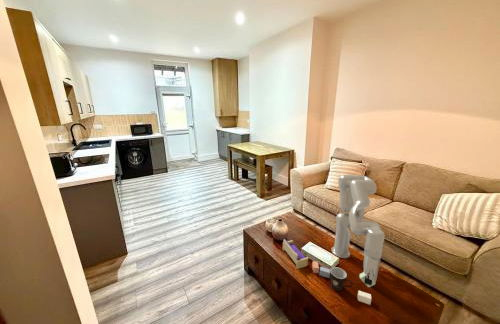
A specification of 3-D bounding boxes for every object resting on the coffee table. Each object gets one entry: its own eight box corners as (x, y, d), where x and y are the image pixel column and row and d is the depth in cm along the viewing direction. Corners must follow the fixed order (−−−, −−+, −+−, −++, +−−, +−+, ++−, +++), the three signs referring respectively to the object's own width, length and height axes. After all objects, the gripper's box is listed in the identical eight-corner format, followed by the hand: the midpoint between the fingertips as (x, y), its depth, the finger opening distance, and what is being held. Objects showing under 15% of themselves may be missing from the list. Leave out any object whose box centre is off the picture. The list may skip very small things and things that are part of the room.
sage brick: (359, 278, 108) (366, 275, 106) (359, 274, 111) (365, 271, 109) (368, 287, 107) (375, 284, 105) (368, 283, 110) (374, 280, 108)
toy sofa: (308, 266, 136) (309, 253, 133) (297, 270, 133) (298, 256, 130) (291, 247, 155) (292, 235, 152) (281, 250, 152) (282, 238, 150)
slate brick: (319, 275, 129) (319, 269, 128) (319, 271, 132) (320, 266, 131) (329, 278, 126) (329, 273, 125) (329, 274, 129) (330, 269, 128)
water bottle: (374, 288, 119) (381, 252, 113) (360, 281, 124) (366, 245, 118) (378, 279, 126) (385, 244, 119) (364, 272, 131) (370, 239, 125)
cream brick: (357, 300, 112) (358, 294, 111) (357, 296, 114) (358, 290, 113) (370, 305, 109) (371, 299, 108) (369, 300, 112) (370, 294, 111)
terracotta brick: (312, 266, 136) (312, 261, 135) (317, 266, 136) (317, 261, 135) (313, 272, 131) (313, 267, 130) (318, 273, 130) (319, 268, 129)
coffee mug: (325, 283, 123) (327, 269, 120) (336, 279, 126) (338, 265, 123) (340, 299, 112) (342, 284, 110) (352, 294, 115) (354, 280, 113)
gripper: (363, 241, 113) (358, 269, 117) (365, 259, 98) (360, 290, 103) (379, 244, 110) (373, 273, 114) (383, 264, 95) (377, 296, 100)
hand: (367, 281), depth 108 cm, fingers closed on sage brick, 3 cm apart
